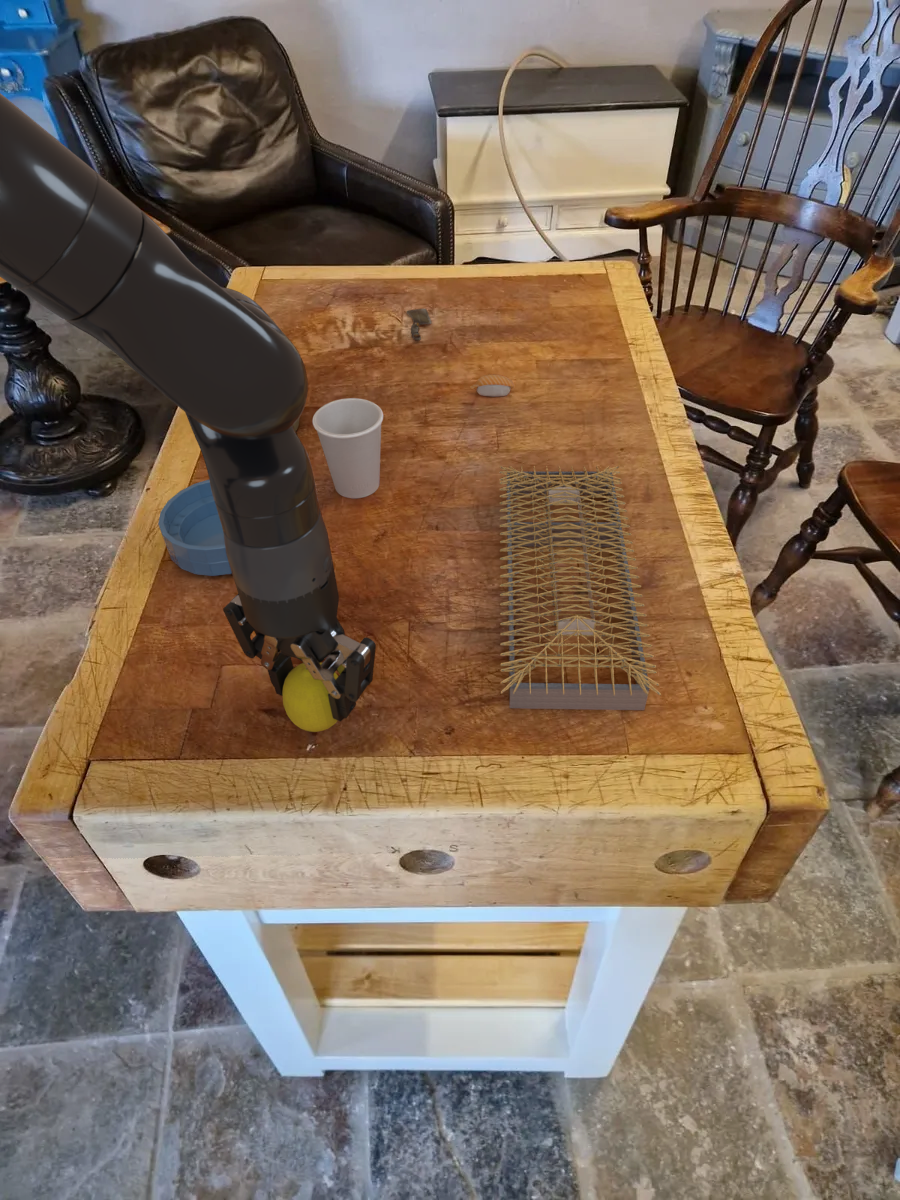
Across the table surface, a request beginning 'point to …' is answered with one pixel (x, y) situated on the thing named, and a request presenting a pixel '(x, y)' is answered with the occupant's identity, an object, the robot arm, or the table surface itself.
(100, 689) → the table surface
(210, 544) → the bowl
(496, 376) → the sushi
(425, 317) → the grey post
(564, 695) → the rafter model
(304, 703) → the lemon
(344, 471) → the dixie cup
